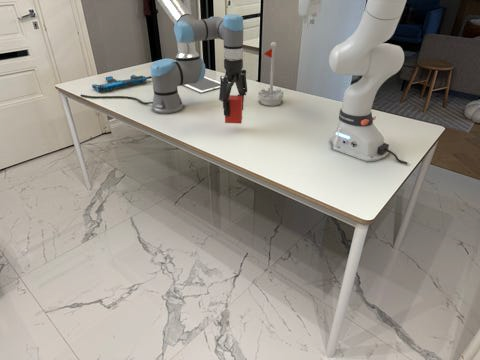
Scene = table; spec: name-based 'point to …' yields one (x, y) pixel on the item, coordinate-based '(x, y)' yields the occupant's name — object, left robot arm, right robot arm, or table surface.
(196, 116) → the table surface
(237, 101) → the block
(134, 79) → the submachine gun
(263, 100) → the flag stand
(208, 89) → the tablet
